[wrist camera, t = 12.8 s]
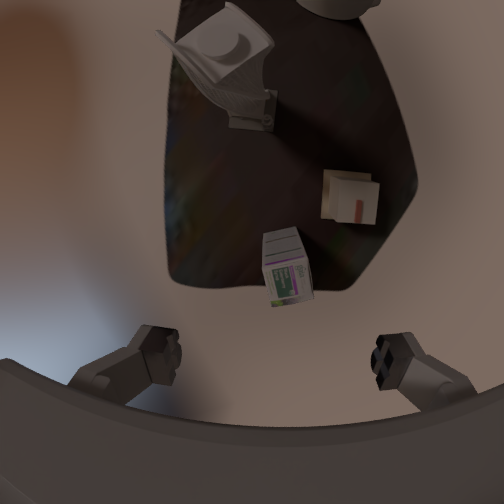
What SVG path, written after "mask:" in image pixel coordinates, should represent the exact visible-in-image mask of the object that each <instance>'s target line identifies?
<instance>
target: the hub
mask: <svg viewBox="0 0 504 504" xmlns="http://www.w3.org/2000/svg"><path fill="white" fill-rule="evenodd" d="M330 176H340V177H351V178H360V179H367V180H370V181H371V174H368V173H359V172H350V171H339V170H327V169H324V176H323V194H322V209H321V218H322V219H333V217H332V216H331V215H330V214H329V213H328V204H329V190H330Z"/></svg>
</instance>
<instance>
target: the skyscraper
mask: <svg viewBox="0 0 504 504" xmlns="http://www.w3.org/2000/svg"><path fill="white" fill-rule="evenodd" d="M155 35H156V36H157V37H158V38H159V39H160V40H161V41H162V42H163V43H165V44H166V45H167V46H168V47H169V48H170V49H171V51H172V52H173V54H174V55H175V57H176V59H177V60H178V62H179V63H180V65H181V66H182V68H183V69H184V71H185V72H186V74H187V75H188V76H189V78H190V79H191V81H192V82H193V83H194V84H195V86H196V87H197V88H198V89H199V90H200V91H201V93H202V94H203V95H204V96H206V97H207V98H208V99H209V100H210V101H212V102H213V103H214V104H216V105H218V106H219V107H221V108H223V109H225V110H227V112H228V114H229V116H230V120H229V128H237V129H248V130H259V131H268V132H273V129H274V120H275V111H276V102H277V93H278V91H275V90H265V89H264V86H263V80H262V68H263V62H264V58H265V57H266V56H267V54H268V53H269V52H270V51H271V50H272V48H273V47H274V40H273V39H272V38H271V37H270V35H269V34H268V33H267V32H266V31H265V30H264V29H263V28H262V27H261V26H260V25H258V24H257V23H256V22H255V21H254V20H253V19H252V18H251V17H250V16H248V15H247V14H246V13H245V12H243V11H242V10H241V9H240V8H238V7H237V6H236V5H234V4H233V3H230V2H226V3H225V8H224V9H222V10H221V11H219V12H218V13H216V14H215V15H213V16H212V17H210V18H209V19H207V20H206V21H204V22H203V23H202V24H200V25H199V26H197V27H196V28H195V29H193V30H192V31H191V32H189V33H188V34H187V35H185V36H184V37H183V38H182V39H180V40H179V41H178V42H177V43H174V42H173V41H172V40H171V39H170V38H169V37H167V36H166V35H165V34H164V33H163V32H162V31H161V30H156V33H155Z"/></svg>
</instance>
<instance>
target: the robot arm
mask: <svg viewBox="0 0 504 504" xmlns="http://www.w3.org/2000/svg"><path fill="white" fill-rule="evenodd" d="M296 1H297V2H298V3H299V4H300V5H301V6H303V7H304V8H306V9H307V10H309V11H311V12H313V13H315V14H317V15H320V16H323V17H326V18H330V19H337V20H349V19H354V18H357V17H359V16H361V15H363V14H364V13H365V12H366V11H367V10H368V9H369V8H371V7H375V6H378V5H379V4H380V2H381V0H296ZM178 339H179V333H178V330H176V329H171V328H164V327H158V326H149V325H141V327H140V328H139V330H138V331H137V333H136V334H135V335H134V337H133V338H132V340H131V341H130V343H129V345H128V346H127V347H122V348H120V349H118V350H116V351H114V352H112V353H110V354H108V355H106V356H104V357H102V358H100V359H98V360H95V361H93V362H91V363H89V364H87V365H85V366H83V367H80V368H79V369H78V371H77V372H76V374H75V375H74V376H73V378H72V379H71V380H70V382H69V383H68V385H67V386H66V385H64V384H61V383H59V382H57V381H54V380H52V379H50V378H48V377H45V376H43V375H41V374H39V373H37V372H35V371H33V370H31V369H29V368H26V367H24V366H23V365H21V364H19V363H17V362H16V361H14V360H12V359H8V358H5V359H1V360H0V504H504V383H503V384H501V385H499V386H497V387H494V388H492V389H489V390H487V391H484V392H482V393H479V394H478V393H477V391H476V390H475V388H474V387H473V385H472V383H471V382H470V380H469V379H468V377H467V376H465V375H463V374H462V373H460V372H458V371H456V370H455V369H453V368H451V367H450V366H448V365H446V364H444V363H442V362H441V361H439V360H437V359H436V358H434V357H432V356H430V355H426V354H425V353H424V351H423V349H422V348H421V346H420V344H419V343H418V341H417V340H416V338H415V337H414V335H413V334H412V333H411V332H405V333H399V334H386V335H379V336H378V338H377V340H376V345H377V348H375V349H374V350H373V352H372V355H371V368H372V371H373V372H374V373H375V374H376V375H377V377H376V382H377V384H378V387H379V390H380V391H382V390H390V389H397V390H398V391H399V392H400V393H402V394H403V395H404V396H405V397H406V398H407V399H409V401H410V402H412V403H413V404H414V405H415V406H416V407H417V408H418V409H420V411H421V412H417V413H413V414H408V415H403V416H398V417H393V418H387V419H381V420H375V421H368V422H361V423H352V424H343V425H330V426H314V427H259V426H242V425H230V424H220V423H212V422H204V421H197V420H190V419H184V418H179V417H173V416H168V415H163V414H158V413H154V412H149V411H145V410H141V409H137V408H133V407H129V406H126V405H125V404H126V403H127V402H129V401H130V400H132V399H133V398H134V397H136V396H137V395H138V394H140V393H141V392H142V391H143V390H145V389H146V388H147V387H149V386H150V385H151V384H152V383H155V384H161V385H168V386H172V383H173V381H174V378H175V376H176V373H175V369H177V368H178V367H179V366H180V363H181V357H182V350H181V345H180V344H179V343H178V342H177V341H178Z"/></svg>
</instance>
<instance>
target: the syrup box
mask: <svg viewBox="0 0 504 504" xmlns="http://www.w3.org/2000/svg"><path fill="white" fill-rule="evenodd" d="M262 270H263V274H264V279H265V283H266V287H267V291H268V295H269V299H270V302H271V307H277V306H283V305H290V304H295V303H299V302H303V301H307V300H310V299H314V294H313V285H312V277H311V271H310V266H309V261H308V257H307V255H306V252H305V249H304V246H303V243H302V241H301V238H300V236H299V233H298V231H297V228H296V227H291V228H287V229H282V230H278V231H273V232H268V233H264V234H263V254H262Z"/></svg>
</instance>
